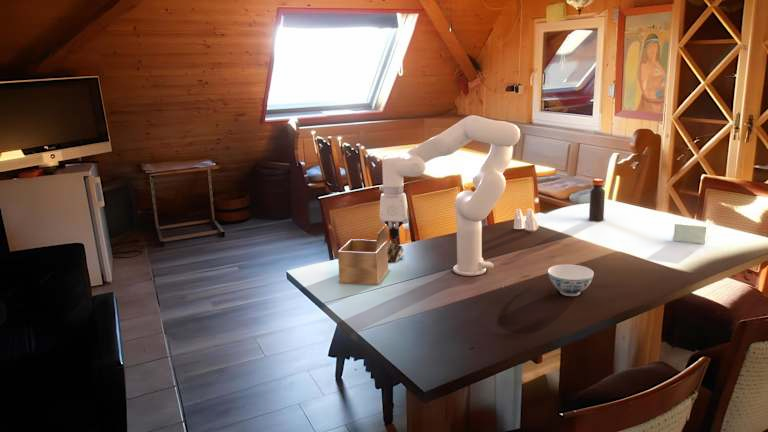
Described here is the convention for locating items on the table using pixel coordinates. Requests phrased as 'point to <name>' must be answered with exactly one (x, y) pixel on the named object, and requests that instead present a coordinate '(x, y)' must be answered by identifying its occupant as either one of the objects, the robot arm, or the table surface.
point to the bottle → (597, 201)
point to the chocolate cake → (394, 252)
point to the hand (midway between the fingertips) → (394, 238)
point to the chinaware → (570, 278)
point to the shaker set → (530, 221)
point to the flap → (382, 236)
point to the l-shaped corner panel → (691, 233)
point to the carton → (362, 262)
